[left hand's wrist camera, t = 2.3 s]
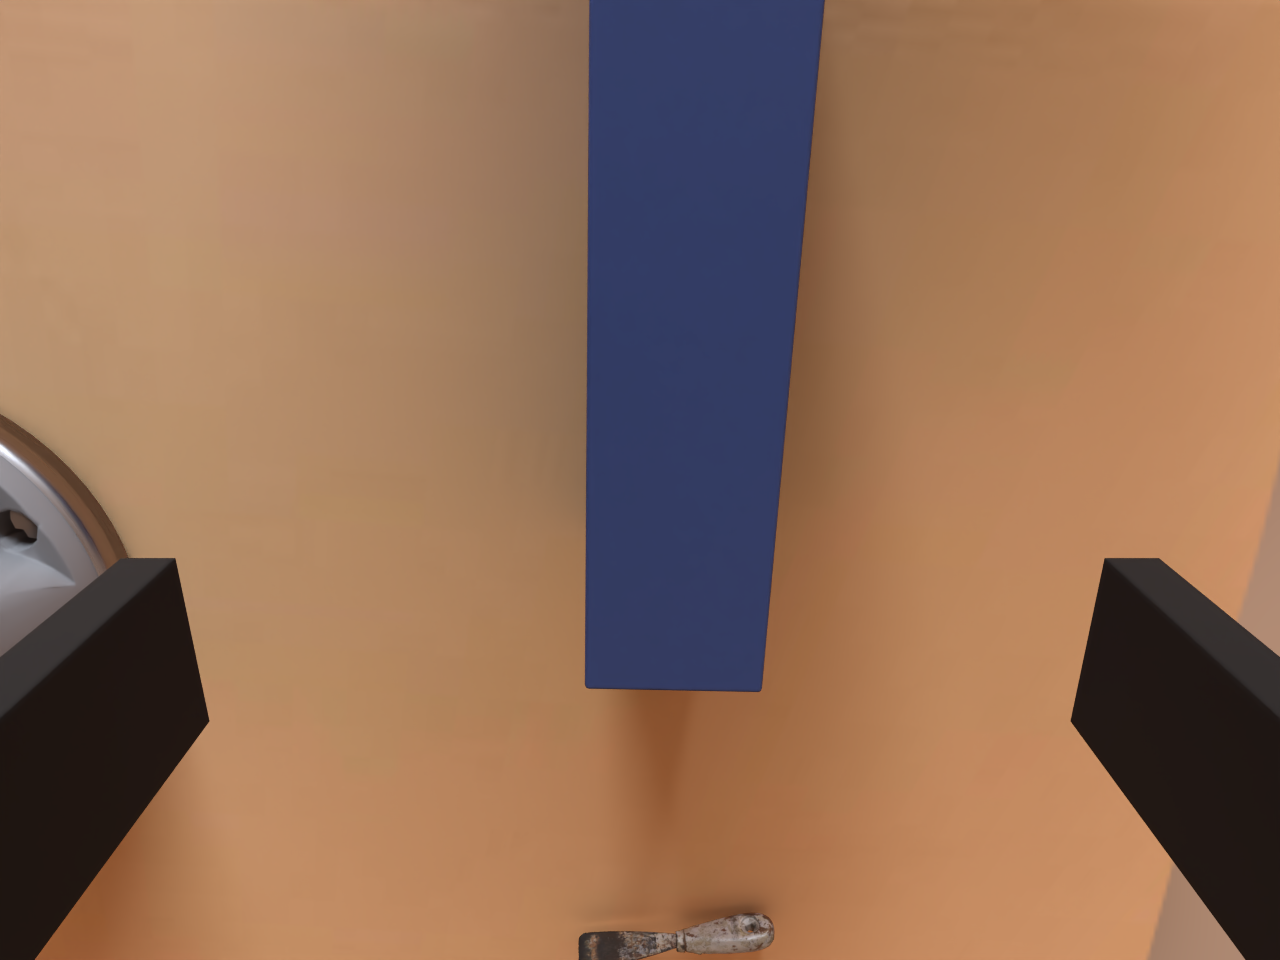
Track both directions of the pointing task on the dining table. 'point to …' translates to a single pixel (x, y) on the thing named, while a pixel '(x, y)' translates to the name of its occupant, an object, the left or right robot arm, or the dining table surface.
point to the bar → (691, 328)
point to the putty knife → (682, 939)
